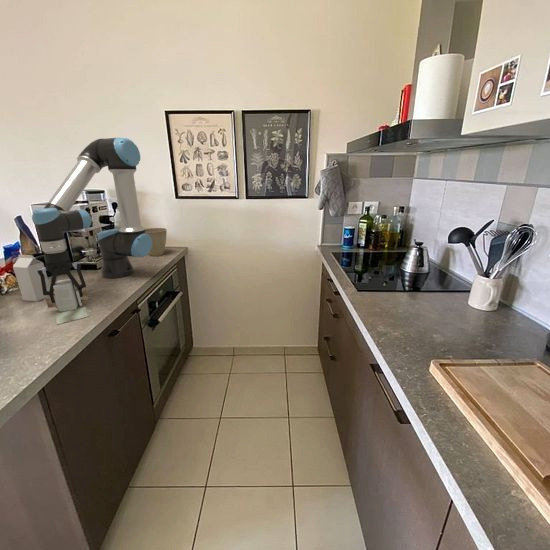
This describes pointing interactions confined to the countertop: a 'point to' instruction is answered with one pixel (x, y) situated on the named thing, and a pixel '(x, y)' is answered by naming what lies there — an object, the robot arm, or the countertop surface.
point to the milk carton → (30, 278)
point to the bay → (70, 314)
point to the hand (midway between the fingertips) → (69, 307)
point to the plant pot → (157, 240)
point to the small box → (66, 295)
